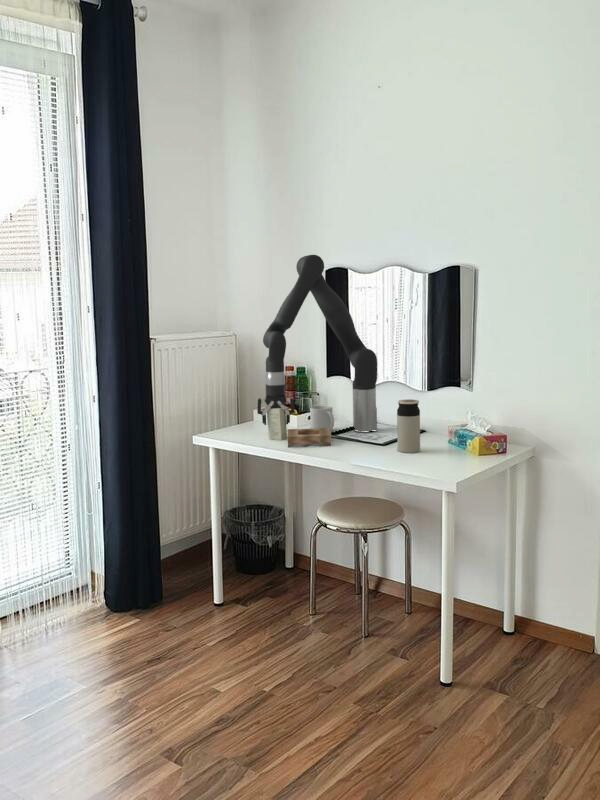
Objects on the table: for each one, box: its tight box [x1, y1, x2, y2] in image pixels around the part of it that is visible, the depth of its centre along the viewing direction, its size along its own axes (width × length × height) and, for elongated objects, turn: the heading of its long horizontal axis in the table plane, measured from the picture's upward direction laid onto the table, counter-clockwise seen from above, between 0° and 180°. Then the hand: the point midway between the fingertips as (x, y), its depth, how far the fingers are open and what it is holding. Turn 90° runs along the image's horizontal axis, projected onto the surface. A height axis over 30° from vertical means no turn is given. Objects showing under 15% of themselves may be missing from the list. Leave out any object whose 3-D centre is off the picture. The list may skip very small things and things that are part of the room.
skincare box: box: [266, 408, 288, 441], centre depth 311 cm, size 6×4×12 cm
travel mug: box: [396, 398, 421, 454], centre depth 283 cm, size 8×8×18 cm
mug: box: [309, 404, 335, 434], centre depth 321 cm, size 11×10×10 cm
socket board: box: [286, 428, 332, 448], centre depth 303 cm, size 16×14×4 cm
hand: (276, 424), depth 311 cm, fingers open, 8 cm apart
